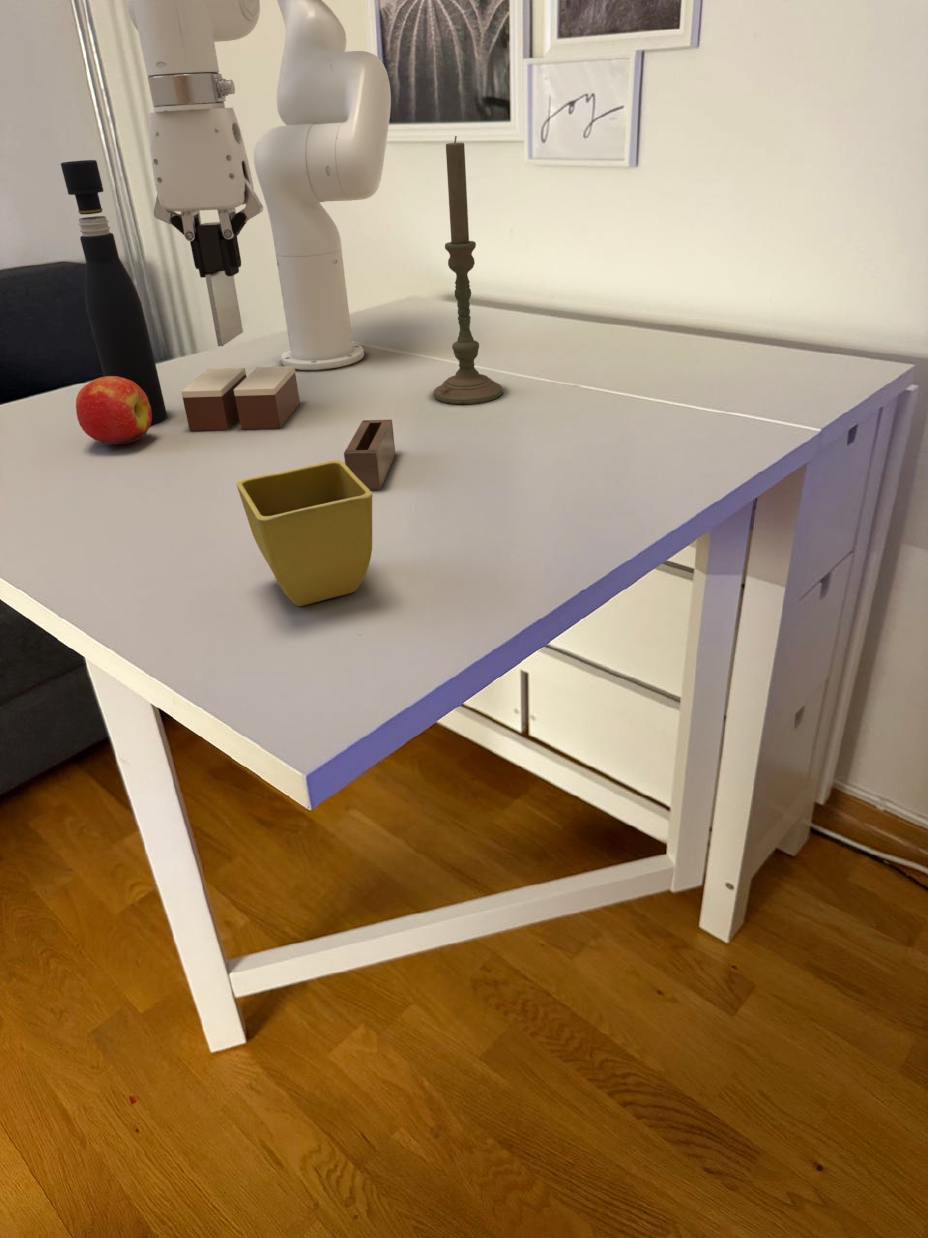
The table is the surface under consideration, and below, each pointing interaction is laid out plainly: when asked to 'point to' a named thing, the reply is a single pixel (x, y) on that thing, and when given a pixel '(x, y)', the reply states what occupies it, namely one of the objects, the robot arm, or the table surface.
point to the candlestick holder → (462, 293)
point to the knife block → (371, 452)
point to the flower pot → (311, 529)
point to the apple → (113, 410)
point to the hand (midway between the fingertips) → (219, 273)
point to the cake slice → (267, 397)
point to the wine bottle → (112, 293)
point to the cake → (213, 399)
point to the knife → (219, 285)
